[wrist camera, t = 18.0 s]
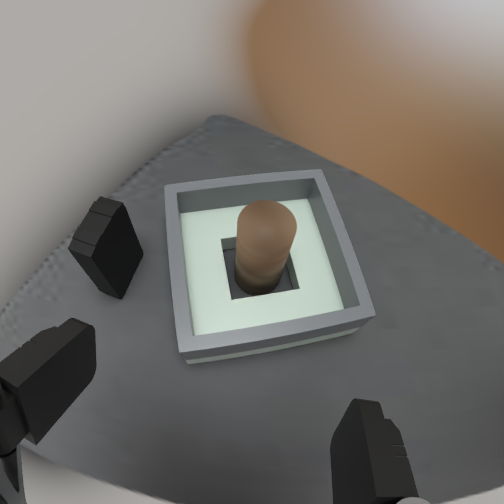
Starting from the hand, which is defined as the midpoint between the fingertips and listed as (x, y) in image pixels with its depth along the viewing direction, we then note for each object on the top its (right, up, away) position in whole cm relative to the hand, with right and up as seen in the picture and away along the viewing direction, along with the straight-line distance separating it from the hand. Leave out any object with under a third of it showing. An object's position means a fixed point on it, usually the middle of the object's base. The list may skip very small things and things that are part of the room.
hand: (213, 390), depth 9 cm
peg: (+2, +2, +20) cm, 20 cm away
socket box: (+2, +2, +20) cm, 20 cm away
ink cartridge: (-11, +2, +19) cm, 22 cm away
